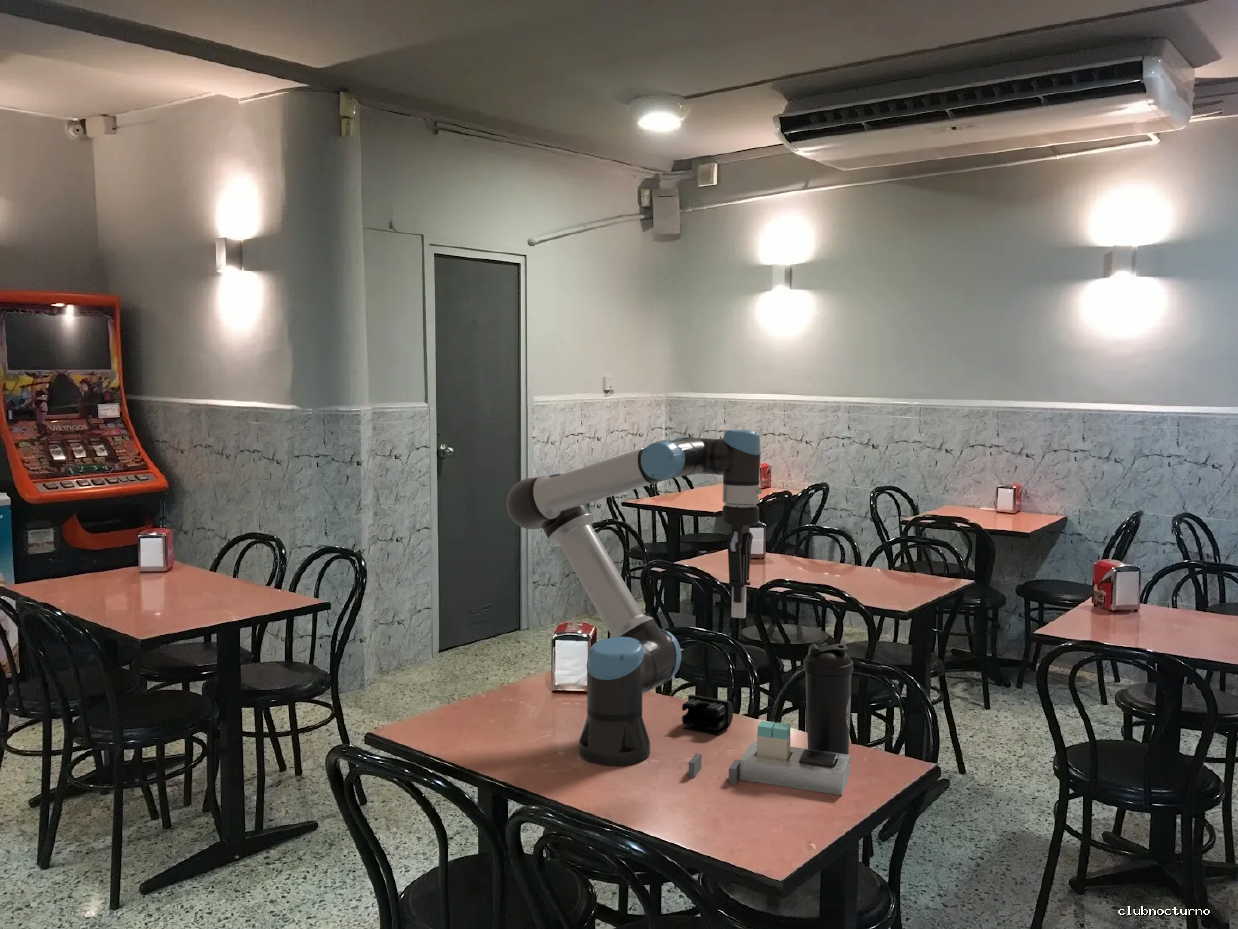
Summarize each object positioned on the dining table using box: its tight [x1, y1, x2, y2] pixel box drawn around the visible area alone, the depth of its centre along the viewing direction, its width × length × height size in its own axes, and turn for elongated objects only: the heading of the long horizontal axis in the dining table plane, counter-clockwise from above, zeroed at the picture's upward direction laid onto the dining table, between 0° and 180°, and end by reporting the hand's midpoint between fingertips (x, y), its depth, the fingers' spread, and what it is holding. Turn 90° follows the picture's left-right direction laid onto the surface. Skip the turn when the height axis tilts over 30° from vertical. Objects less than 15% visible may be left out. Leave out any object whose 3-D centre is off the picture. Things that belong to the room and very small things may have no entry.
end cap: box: [681, 694, 734, 737], centre depth 223 cm, size 10×7×7 cm
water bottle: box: [803, 643, 854, 755], centre depth 208 cm, size 10×10×23 cm
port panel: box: [738, 740, 852, 796], centre depth 196 cm, size 20×11×5 cm, turn 69°
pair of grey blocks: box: [688, 752, 740, 785], centre depth 196 cm, size 9×5×3 cm, turn 69°
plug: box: [756, 720, 791, 761], centre depth 197 cm, size 6×4×10 cm, turn 69°
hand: (738, 616), depth 206 cm, fingers closed
